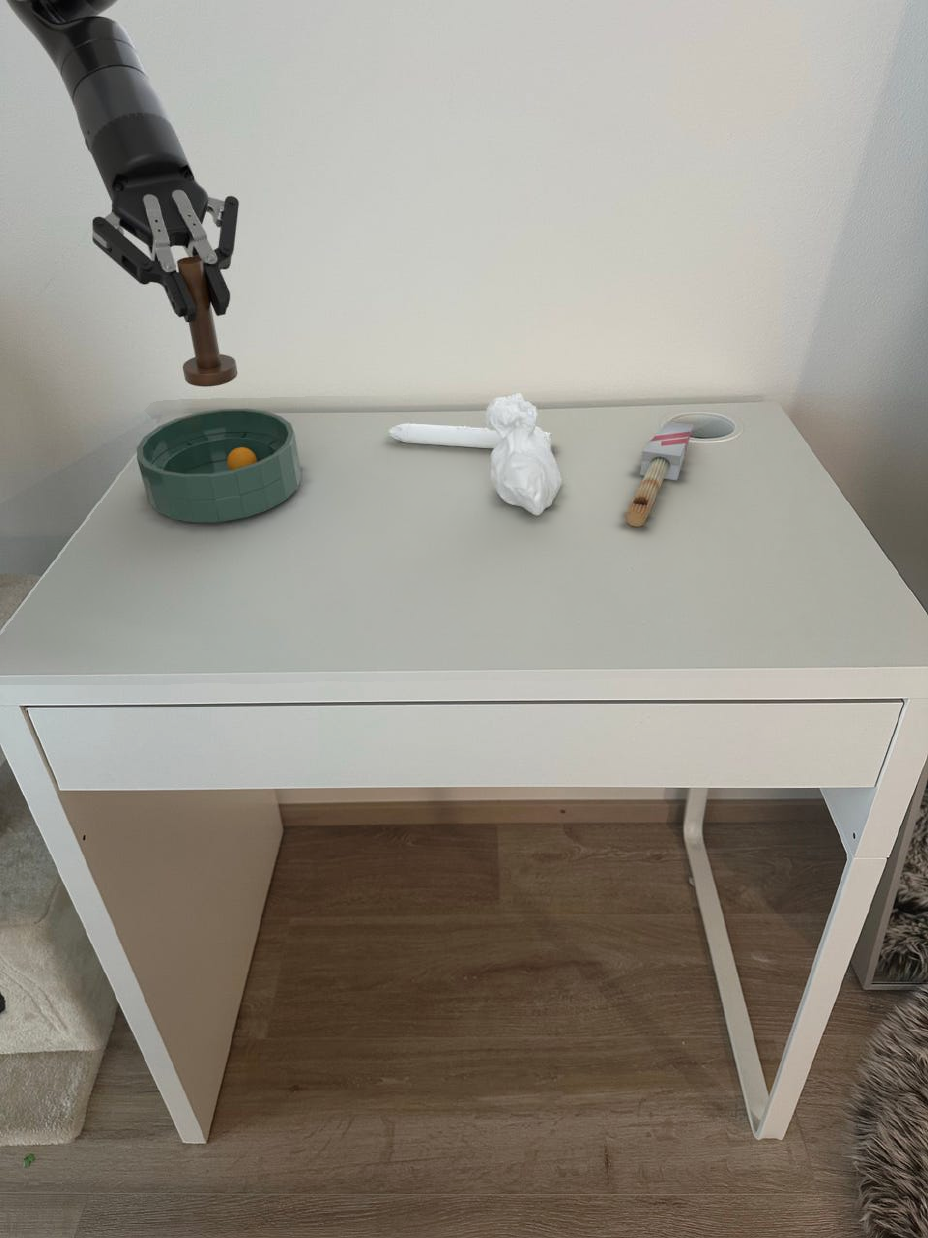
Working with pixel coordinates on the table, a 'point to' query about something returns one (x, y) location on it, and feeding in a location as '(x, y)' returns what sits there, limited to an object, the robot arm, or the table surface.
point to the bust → (521, 455)
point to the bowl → (218, 465)
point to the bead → (240, 458)
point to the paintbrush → (659, 467)
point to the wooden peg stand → (203, 332)
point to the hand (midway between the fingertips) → (207, 312)
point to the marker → (448, 435)
